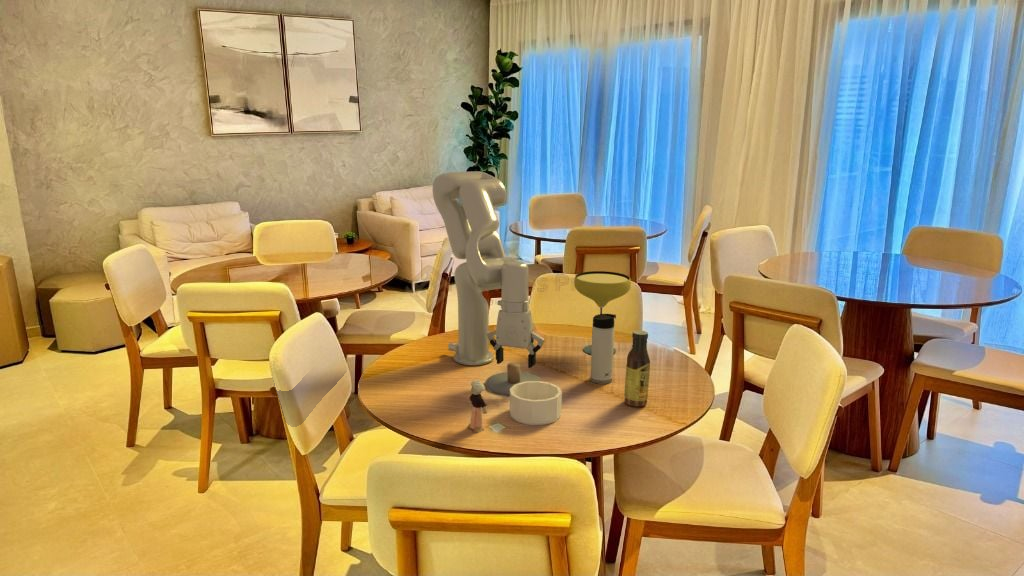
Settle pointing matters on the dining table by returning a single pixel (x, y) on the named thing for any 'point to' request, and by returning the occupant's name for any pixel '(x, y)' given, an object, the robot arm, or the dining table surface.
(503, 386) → the lid
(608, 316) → the travel mug
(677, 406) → the dining table surface
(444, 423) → the dining table surface
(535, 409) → the bowl
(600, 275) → the cocktail glass
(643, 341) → the sauce bottle
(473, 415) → the grandmother figurine
